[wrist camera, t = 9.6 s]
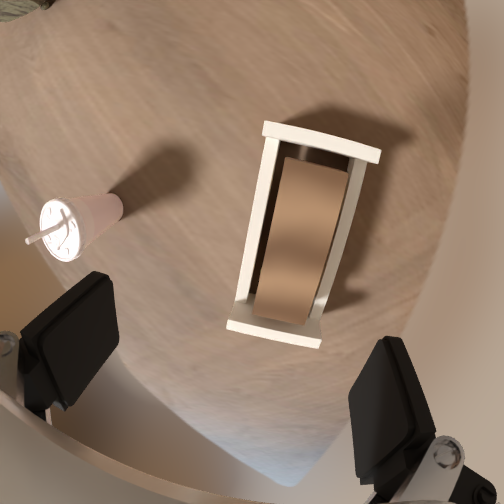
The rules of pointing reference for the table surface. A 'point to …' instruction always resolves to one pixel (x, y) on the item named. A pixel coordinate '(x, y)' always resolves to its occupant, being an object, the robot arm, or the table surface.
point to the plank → (299, 239)
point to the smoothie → (76, 223)
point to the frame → (311, 332)
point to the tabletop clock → (19, 8)
